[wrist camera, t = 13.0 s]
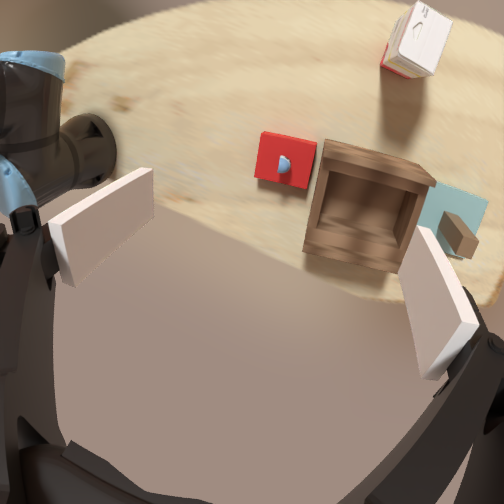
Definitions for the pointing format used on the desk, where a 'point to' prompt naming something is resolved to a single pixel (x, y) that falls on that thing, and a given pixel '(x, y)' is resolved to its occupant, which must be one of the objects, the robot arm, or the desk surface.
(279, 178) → the red knobbed tile
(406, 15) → the ink box
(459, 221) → the lid
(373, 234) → the walnut box
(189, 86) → the desk surface
